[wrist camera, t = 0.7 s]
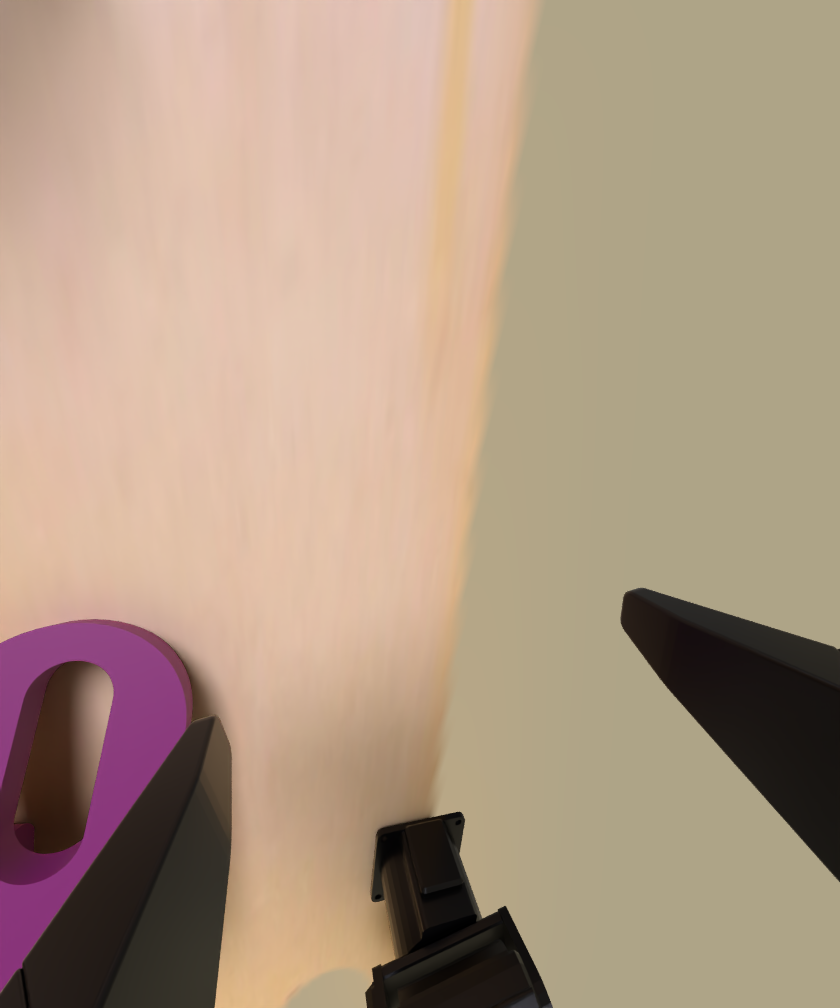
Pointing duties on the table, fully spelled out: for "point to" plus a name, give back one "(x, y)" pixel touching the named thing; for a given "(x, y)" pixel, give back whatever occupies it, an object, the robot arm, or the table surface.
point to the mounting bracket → (122, 769)
